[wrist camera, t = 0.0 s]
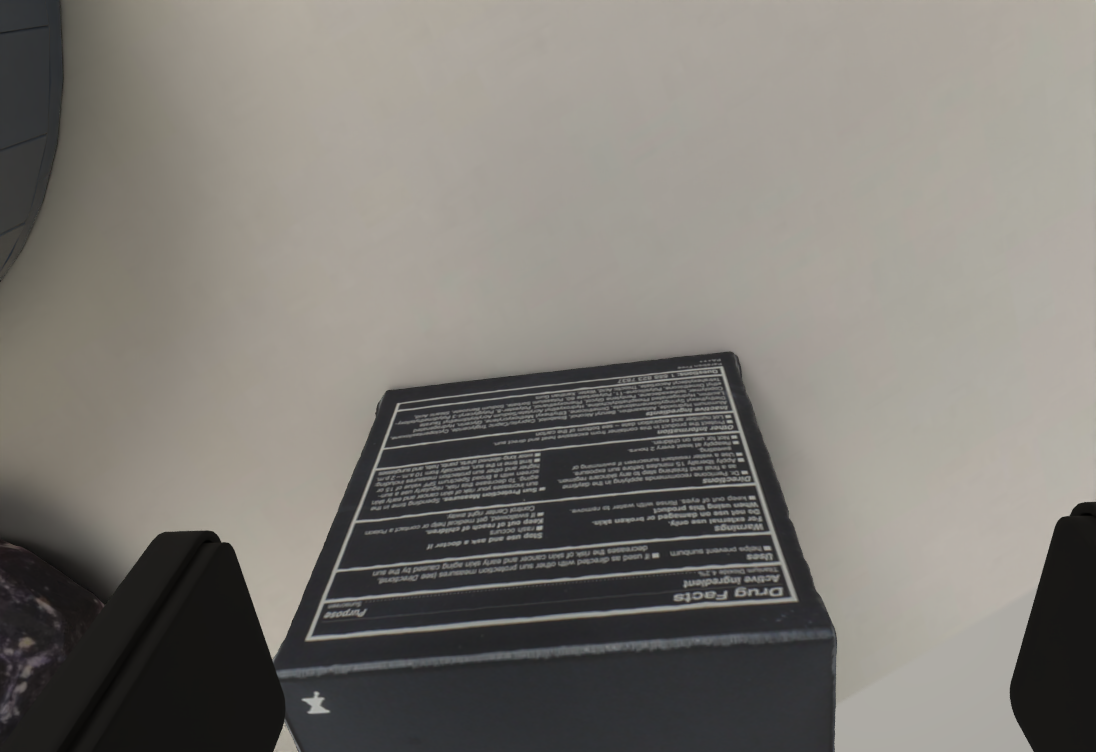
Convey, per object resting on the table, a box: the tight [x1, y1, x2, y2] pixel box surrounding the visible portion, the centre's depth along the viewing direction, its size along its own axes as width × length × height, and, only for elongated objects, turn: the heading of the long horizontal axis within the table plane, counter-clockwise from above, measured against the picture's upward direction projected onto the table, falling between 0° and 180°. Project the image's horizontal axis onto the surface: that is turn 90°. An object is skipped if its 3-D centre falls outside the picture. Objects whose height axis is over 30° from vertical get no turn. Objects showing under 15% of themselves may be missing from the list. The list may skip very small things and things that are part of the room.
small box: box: [272, 352, 837, 752], centre depth 20 cm, size 11×6×10 cm, turn 99°
